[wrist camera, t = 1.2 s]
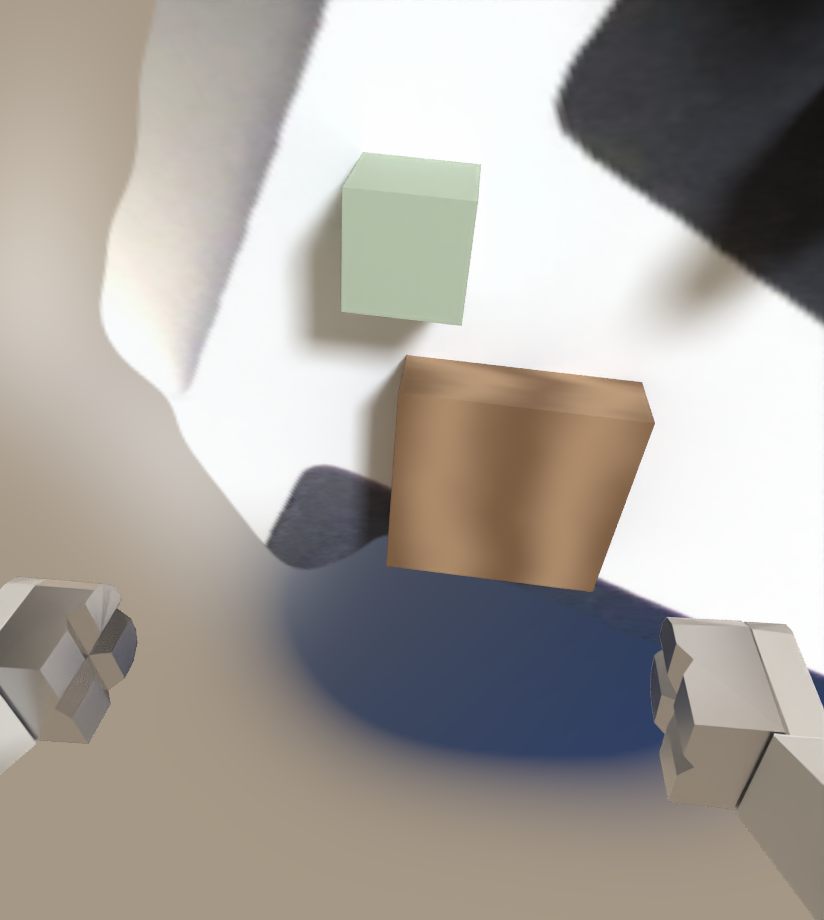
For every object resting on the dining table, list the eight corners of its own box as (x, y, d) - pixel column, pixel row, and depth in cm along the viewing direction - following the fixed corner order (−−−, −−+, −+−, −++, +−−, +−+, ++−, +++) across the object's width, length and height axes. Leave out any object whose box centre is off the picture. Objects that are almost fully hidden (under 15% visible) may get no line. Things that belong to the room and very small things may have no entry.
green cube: (360, 264, 31) (341, 312, 27) (363, 151, 28) (341, 187, 24) (466, 276, 31) (461, 325, 27) (480, 164, 28) (477, 201, 24)
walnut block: (394, 518, 42) (386, 565, 39) (407, 351, 34) (398, 392, 31) (585, 542, 41) (592, 591, 38) (640, 377, 34) (654, 423, 31)
